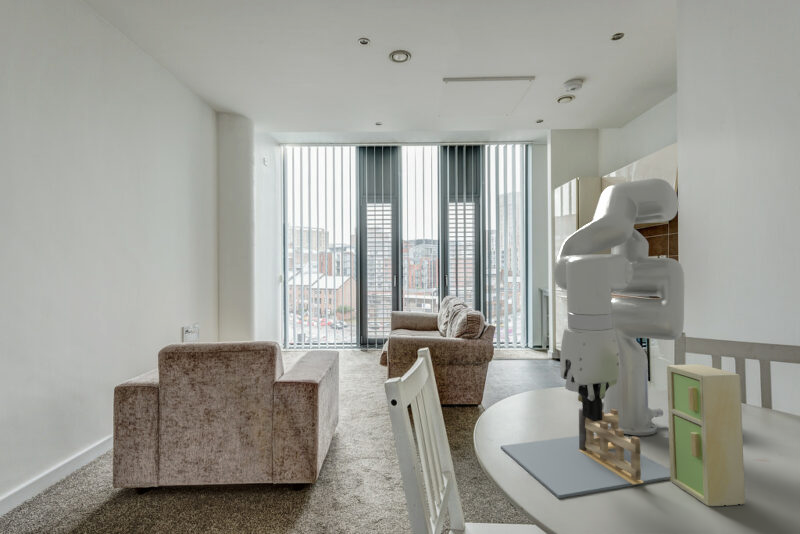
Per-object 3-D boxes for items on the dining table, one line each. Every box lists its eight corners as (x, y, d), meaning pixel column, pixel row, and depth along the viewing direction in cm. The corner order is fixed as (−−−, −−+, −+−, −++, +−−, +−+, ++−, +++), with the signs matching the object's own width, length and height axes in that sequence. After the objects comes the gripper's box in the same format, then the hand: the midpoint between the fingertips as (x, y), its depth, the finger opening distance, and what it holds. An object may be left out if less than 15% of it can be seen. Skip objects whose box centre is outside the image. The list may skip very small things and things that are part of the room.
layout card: (601, 435, 88) (601, 432, 88) (682, 478, 69) (682, 475, 69) (500, 448, 82) (500, 445, 82) (560, 500, 63) (560, 496, 63)
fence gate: (585, 450, 78) (584, 415, 79) (590, 449, 79) (589, 414, 79) (635, 480, 67) (634, 439, 67) (641, 479, 67) (640, 438, 67)
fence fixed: (614, 445, 83) (613, 405, 83) (620, 448, 81) (619, 407, 81) (577, 450, 80) (577, 408, 81) (582, 454, 79) (582, 411, 79)
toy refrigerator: (664, 480, 69) (662, 364, 69) (702, 479, 69) (700, 363, 70) (703, 507, 61) (701, 376, 61) (745, 505, 61) (743, 375, 62)
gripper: (606, 315, 77) (608, 405, 77) (542, 322, 73) (545, 416, 73) (638, 321, 69) (641, 420, 70) (569, 328, 66) (573, 433, 66)
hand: (592, 418), depth 72 cm, fingers closed
